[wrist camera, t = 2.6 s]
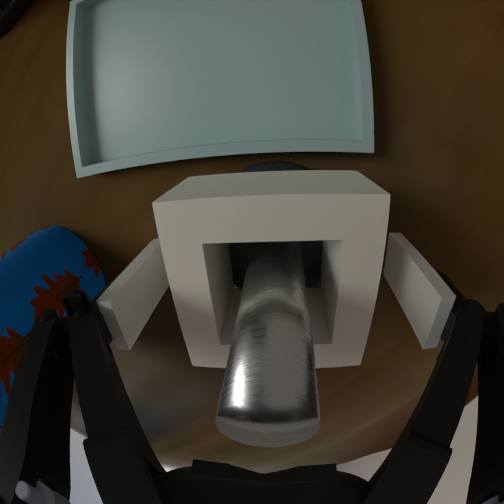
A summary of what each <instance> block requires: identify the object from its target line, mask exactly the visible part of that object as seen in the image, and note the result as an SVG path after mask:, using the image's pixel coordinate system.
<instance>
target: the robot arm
mask: <svg viewBox="0 0 504 504" xmlns="http://www.w3.org/2000/svg"><path fill="white" fill-rule="evenodd" d="M30 1H31V0H0V37H1V36H2V35H3V34H4V33H5V32H6V31H7V30H8V29H9V28H10V27H11V25H12V24H13V23H14V22H15V21H16V20H17V18H18V17H19V16H20V15H21V13H22V12H23V11H24V9H25V8H26V7H27V5H28V4H29V2H30ZM383 275H384V277H385V279H386V280H387V282H388V284H389V286H390V287H391V289H392V291H393V293H394V294H395V296H396V298H397V300H398V302H399V303H400V305H401V307H402V309H403V311H404V313H405V315H406V317H407V318H408V320H409V322H410V324H411V326H412V328H413V330H414V332H415V334H416V336H417V338H418V340H419V342H420V344H421V346H422V348H423V349H428V348H434V347H437V345H438V343H439V340H440V338H441V337H442V339H443V341H444V345H443V347H442V349H441V351H440V354H439V356H438V358H437V362H436V365H435V367H434V369H433V372H432V374H431V376H430V379H429V381H428V383H427V385H426V388H425V390H424V392H423V394H422V396H421V398H420V400H419V402H418V404H417V406H416V408H415V410H414V412H413V414H412V416H411V417H410V419H409V421H408V423H407V425H406V426H405V428H404V430H403V432H402V433H401V435H400V437H399V438H398V440H397V442H396V443H395V445H394V446H393V448H392V450H391V451H390V453H389V455H388V456H387V457H386V459H385V460H384V462H383V463H382V465H381V466H380V468H379V469H378V470H377V471H376V473H375V474H374V475H373V476H372V478H371V479H370V480H369V481H368V482H367V481H366V480H364V479H362V478H360V477H358V476H356V475H353V474H350V473H346V472H340V471H337V469H336V464H325V465H310V466H299V467H294V468H290V469H286V470H281V471H276V472H271V473H265V474H262V473H257V472H254V471H250V470H247V469H243V468H240V467H236V466H233V465H230V464H227V463H218V462H210V461H202V460H196V459H193V463H192V467H183V468H178V469H174V470H171V471H169V472H166V471H165V470H164V468H163V467H162V465H161V464H160V462H159V461H158V459H157V457H156V455H155V454H154V452H153V450H152V448H151V446H150V444H149V442H148V440H147V438H146V436H145V434H144V431H143V429H142V427H141V425H140V423H139V421H138V418H137V416H136V414H135V411H134V409H133V407H132V404H131V402H130V400H129V397H128V395H127V392H126V390H125V387H124V384H123V382H122V379H121V376H120V373H119V371H118V368H117V365H116V362H115V359H114V356H113V353H112V350H111V348H110V346H109V344H110V343H111V341H112V340H113V341H114V343H115V346H116V348H117V349H122V350H129V351H130V350H131V348H132V347H133V345H134V343H135V341H136V340H137V338H138V336H139V334H140V333H141V331H142V329H143V328H144V326H145V324H146V323H147V321H148V319H149V318H150V316H151V314H152V313H153V311H154V309H155V308H156V306H157V304H158V303H159V301H160V299H161V298H162V296H163V294H164V293H165V291H166V290H167V288H168V286H169V281H168V277H167V272H166V268H165V264H164V259H163V255H162V250H161V246H160V241H159V239H153V240H152V241H151V242H150V243H149V244H148V245H147V246H146V247H145V248H144V249H143V250H142V251H141V253H140V254H139V255H138V256H137V257H136V258H135V259H134V260H133V261H132V262H131V263H130V264H129V265H128V266H127V267H126V268H125V270H124V271H123V272H122V273H121V274H120V275H119V276H118V277H116V278H114V279H113V280H111V281H110V282H108V284H107V285H106V286H105V287H104V288H103V289H102V290H101V291H100V293H98V295H97V296H96V297H95V298H94V299H93V300H92V301H91V302H90V300H89V298H88V295H87V293H86V291H85V290H83V289H77V290H73V291H71V292H69V293H67V294H66V295H65V296H64V297H63V298H62V300H61V302H62V305H63V307H64V309H65V311H66V313H67V316H68V317H61V318H59V317H58V314H57V312H56V311H55V310H53V309H50V310H45V311H43V312H41V313H40V314H39V315H38V316H37V317H36V319H35V321H34V324H33V326H32V329H31V331H30V334H29V336H28V339H27V341H26V344H25V347H24V350H23V352H22V355H21V358H20V361H19V364H18V367H17V370H16V374H15V377H14V380H13V384H12V387H11V391H10V395H9V399H8V403H7V407H6V411H5V416H4V421H3V426H2V432H1V437H0V504H70V502H69V499H70V488H71V486H70V423H71V407H72V395H73V385H74V377H75V382H76V387H77V393H78V398H79V403H80V407H81V412H82V416H83V420H84V424H85V428H86V432H87V436H88V439H84V441H83V445H84V450H85V454H86V457H87V460H88V464H89V467H90V470H91V473H92V476H93V478H94V481H95V484H96V487H97V489H98V492H99V494H100V497H101V499H102V502H103V504H427V502H428V501H429V499H430V497H431V495H432V493H433V492H434V490H435V488H436V486H437V484H438V482H439V480H440V479H441V477H442V475H443V472H444V470H445V468H446V466H447V464H448V462H449V459H450V457H451V454H452V449H451V448H450V444H451V441H452V439H453V436H454V434H455V431H456V429H457V426H458V423H459V420H460V418H461V415H462V412H463V409H464V406H465V403H466V400H467V396H468V393H469V389H470V386H471V382H472V378H473V374H474V370H475V366H476V362H477V366H478V422H477V435H476V445H475V454H474V461H473V467H472V473H471V479H470V484H469V489H468V495H467V501H466V504H504V303H501V304H499V305H498V306H497V308H496V311H495V312H488V311H485V310H484V307H483V306H482V305H481V304H480V303H479V302H477V301H475V300H471V299H465V298H464V296H463V295H462V294H461V293H460V292H459V290H458V289H457V288H456V287H454V284H453V283H452V282H450V280H449V278H448V277H447V276H446V275H445V274H443V273H442V272H440V271H438V270H436V271H435V270H434V269H433V268H432V266H431V265H430V264H429V263H428V262H427V261H426V260H425V259H424V257H423V256H422V255H421V254H420V253H419V252H418V251H417V250H416V249H415V247H414V246H413V245H412V244H411V243H410V242H409V241H408V240H407V239H406V238H405V237H404V236H403V235H402V234H401V233H389V238H388V245H387V253H386V259H385V266H384V272H383Z"/></svg>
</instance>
